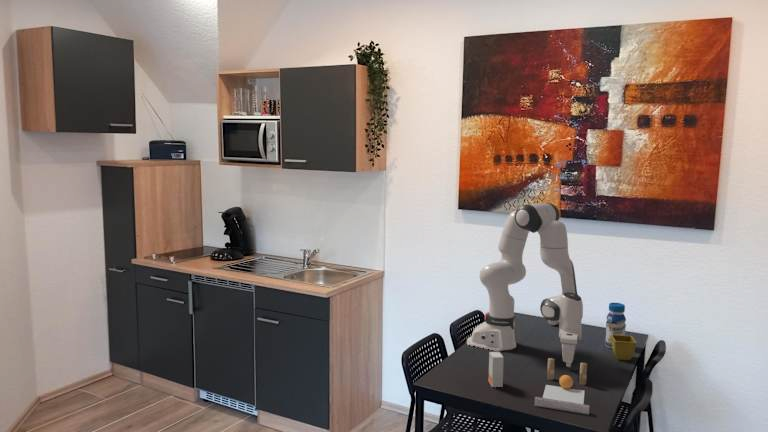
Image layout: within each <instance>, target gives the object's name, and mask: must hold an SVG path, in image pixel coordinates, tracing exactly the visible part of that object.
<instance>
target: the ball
mask: <svg viewBox="0 0 768 432" xmlns="http://www.w3.org/2000/svg"><path fill="white" fill-rule="evenodd" d="M559 385H560V387H563V388H565V389H569V388H571V389H572V388H573V385H574V379H573V378H572V377H571V376H570V375H568V374H564V375H561V376H560V377H559Z"/></svg>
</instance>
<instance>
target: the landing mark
mask: <svg viewBox="0 0 768 432" xmlns="http://www.w3.org/2000/svg"><path fill="white" fill-rule="evenodd" d="M585 392H586V391H585V390H582V389H578V388H577V389H575V388H572V387H571V388H569V389H565V388H563V387H561V386H556V385H551V384H550V385H549V384H545V387H544V391H543V395H542V398H547V399H553V400H559V401H565V402H572V403H578V404H584V405H585Z"/></svg>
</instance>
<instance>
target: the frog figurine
mask: <svg viewBox="0 0 768 432" xmlns="http://www.w3.org/2000/svg"><path fill="white" fill-rule="evenodd" d="M547 322H548V324H549V325H550V326H556V325H558V323H559V322H558V321H550V320H547Z"/></svg>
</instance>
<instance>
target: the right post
mask: <svg viewBox="0 0 768 432" xmlns="http://www.w3.org/2000/svg"><path fill="white" fill-rule="evenodd" d="M587 372H588V363H587V362H580V364H579V381H578V384H579V385H581V386H586V385H587V374H588V373H587Z"/></svg>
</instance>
